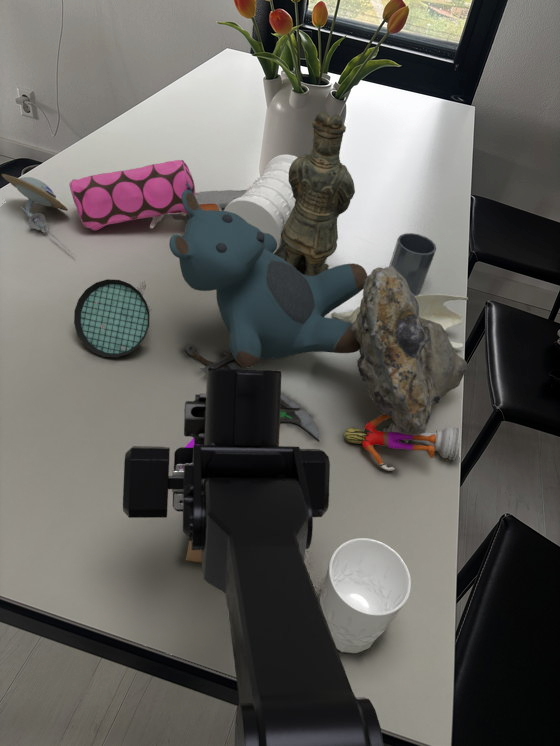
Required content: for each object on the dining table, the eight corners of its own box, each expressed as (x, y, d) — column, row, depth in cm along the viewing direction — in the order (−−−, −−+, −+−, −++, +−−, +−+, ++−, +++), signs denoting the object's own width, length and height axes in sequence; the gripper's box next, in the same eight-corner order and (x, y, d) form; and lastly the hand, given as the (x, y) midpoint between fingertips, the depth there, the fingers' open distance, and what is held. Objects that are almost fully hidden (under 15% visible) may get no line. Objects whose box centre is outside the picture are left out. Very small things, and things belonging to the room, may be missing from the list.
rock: (335, 364, 67) (479, 356, 63) (344, 241, 80) (465, 228, 76) (364, 478, 86) (475, 477, 82) (367, 364, 99) (465, 358, 95)
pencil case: (185, 154, 104) (198, 214, 107) (190, 160, 114) (201, 215, 116) (61, 176, 104) (76, 236, 106) (76, 181, 113) (90, 236, 116)
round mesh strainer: (82, 266, 88) (99, 272, 94) (67, 348, 88) (84, 349, 94) (157, 281, 87) (169, 286, 93) (141, 364, 87) (154, 364, 94)
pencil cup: (422, 299, 111) (438, 257, 105) (385, 293, 110) (399, 250, 104) (418, 278, 116) (433, 236, 110) (383, 272, 115) (396, 230, 109)
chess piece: (458, 454, 80) (381, 438, 82) (452, 464, 84) (379, 450, 85) (462, 423, 82) (387, 409, 83) (455, 435, 86) (384, 421, 87)
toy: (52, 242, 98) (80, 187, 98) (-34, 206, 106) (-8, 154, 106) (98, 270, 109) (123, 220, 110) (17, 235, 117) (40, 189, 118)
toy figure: (350, 409, 86) (348, 402, 83) (438, 421, 82) (439, 414, 80) (340, 464, 82) (337, 458, 80) (431, 479, 79) (431, 473, 77)
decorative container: (276, 267, 111) (313, 216, 122) (285, 214, 102) (323, 164, 113) (219, 244, 113) (260, 196, 124) (223, 190, 104) (267, 144, 115)
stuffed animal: (369, 383, 83) (252, 257, 63) (258, 405, 92) (126, 301, 72) (374, 251, 95) (277, 110, 75) (275, 283, 104) (166, 164, 84)
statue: (340, 274, 113) (382, 108, 92) (323, 300, 106) (364, 127, 86) (284, 254, 115) (313, 88, 94) (264, 278, 108) (290, 105, 88)
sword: (337, 426, 85) (308, 451, 81) (207, 337, 95) (175, 355, 90) (338, 422, 85) (309, 448, 80) (207, 333, 94) (175, 352, 90)
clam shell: (475, 285, 97) (468, 356, 100) (436, 274, 107) (430, 339, 111) (345, 292, 90) (343, 368, 94) (317, 280, 101) (316, 348, 105)
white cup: (378, 670, 62) (406, 626, 55) (303, 645, 62) (321, 598, 56) (388, 599, 67) (415, 552, 61) (319, 577, 68) (338, 527, 61)
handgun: (318, 220, 120) (284, 182, 129) (189, 233, 109) (162, 191, 118) (314, 236, 122) (281, 199, 131) (188, 251, 111) (162, 208, 120)
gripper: (350, 399, 51) (309, 396, 67) (121, 392, 48) (134, 391, 64) (346, 533, 51) (306, 499, 67) (115, 535, 48) (129, 499, 63)
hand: (221, 469), depth 65 cm, fingers closed on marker, 3 cm apart
